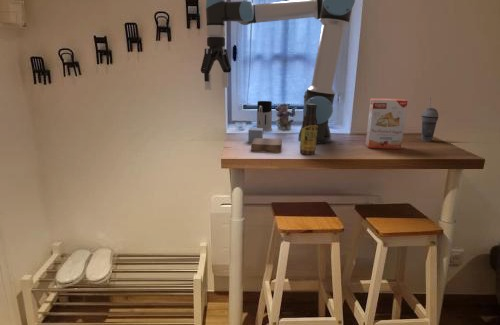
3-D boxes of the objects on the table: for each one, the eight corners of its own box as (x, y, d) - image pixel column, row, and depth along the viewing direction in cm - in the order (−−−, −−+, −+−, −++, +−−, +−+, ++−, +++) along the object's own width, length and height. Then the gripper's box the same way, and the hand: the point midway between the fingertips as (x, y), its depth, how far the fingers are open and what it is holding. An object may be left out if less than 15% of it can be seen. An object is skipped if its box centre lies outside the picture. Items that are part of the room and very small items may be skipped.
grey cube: (262, 140, 171) (263, 128, 169) (261, 143, 165) (261, 130, 163) (249, 140, 171) (250, 127, 170) (248, 143, 166) (248, 130, 164)
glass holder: (274, 129, 199) (274, 101, 195) (267, 133, 186) (267, 104, 182) (258, 128, 202) (258, 100, 198) (250, 132, 189) (251, 103, 184)
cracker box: (368, 148, 158) (373, 99, 152) (365, 145, 164) (369, 97, 158) (401, 149, 157) (408, 100, 151) (397, 146, 163) (403, 98, 157)
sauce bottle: (303, 155, 145) (306, 105, 139) (297, 152, 150) (299, 103, 145) (318, 154, 146) (321, 104, 141) (311, 151, 152) (314, 102, 147)
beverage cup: (430, 143, 170) (436, 99, 164) (415, 140, 175) (421, 97, 170) (437, 141, 174) (444, 98, 169) (422, 138, 180) (428, 97, 174)
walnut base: (281, 145, 161) (281, 139, 160) (280, 152, 150) (280, 145, 149) (254, 144, 162) (254, 138, 162) (251, 151, 151) (251, 144, 150)
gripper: (224, 38, 166) (224, 86, 172) (190, 35, 145) (192, 90, 151) (238, 38, 163) (238, 86, 168) (206, 34, 141) (208, 90, 147)
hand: (217, 88), depth 159 cm, fingers open, 13 cm apart
